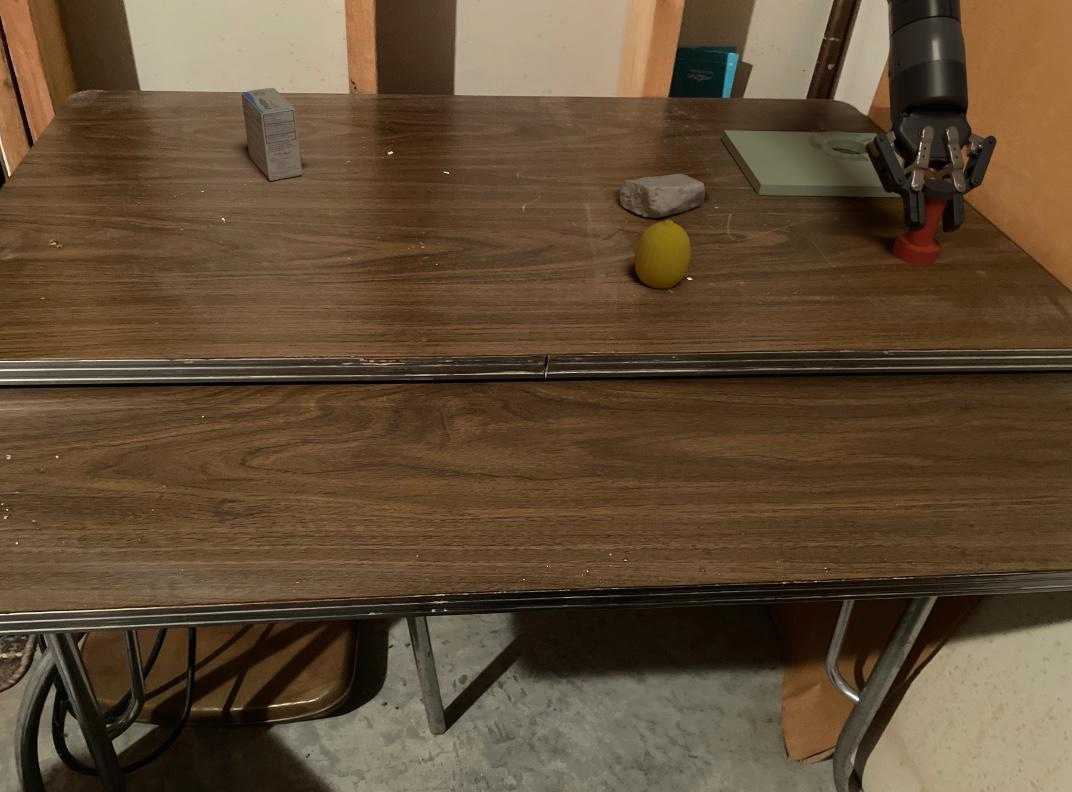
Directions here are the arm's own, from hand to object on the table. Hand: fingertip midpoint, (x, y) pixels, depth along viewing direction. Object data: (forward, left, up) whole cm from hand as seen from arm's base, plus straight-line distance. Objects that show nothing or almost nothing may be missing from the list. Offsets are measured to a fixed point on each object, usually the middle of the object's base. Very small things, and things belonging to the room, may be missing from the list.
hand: (934, 229), depth 97 cm
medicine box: (+73, -26, -6) cm, 78 cm away
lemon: (+30, +4, -6) cm, 31 cm away
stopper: (0, -2, -5) cm, 6 cm away
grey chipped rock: (+25, -16, -6) cm, 30 cm away
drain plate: (+1, -29, -5) cm, 30 cm away
